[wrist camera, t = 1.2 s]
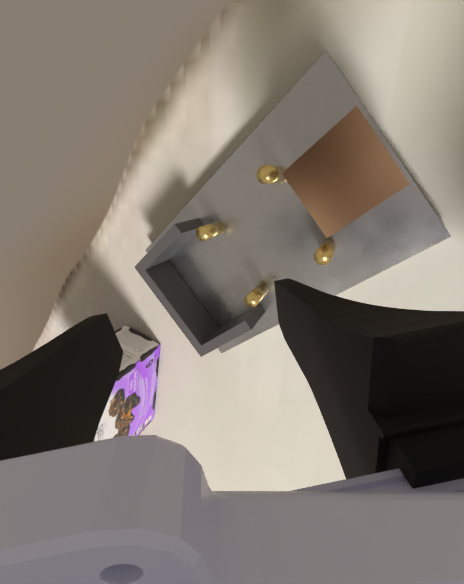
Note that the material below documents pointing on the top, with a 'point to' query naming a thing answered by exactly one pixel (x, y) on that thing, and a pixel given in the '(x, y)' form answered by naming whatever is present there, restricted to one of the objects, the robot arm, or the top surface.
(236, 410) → the top surface
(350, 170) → the walnut block
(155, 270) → the housing
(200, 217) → the base plate
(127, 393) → the candy box
